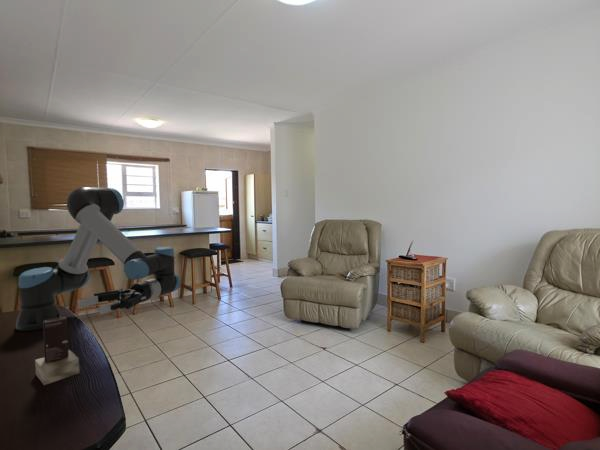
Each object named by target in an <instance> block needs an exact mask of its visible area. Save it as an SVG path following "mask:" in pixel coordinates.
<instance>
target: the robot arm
mask: <svg viewBox="0 0 600 450" xmlns="http://www.w3.org/2000/svg"><path fill="white" fill-rule="evenodd" d="M124 203H125V202H124V199H123V196H122V194H121V192H119V191H118V190H117V189H115V188H113V187H107V186H104V187H93V186H92V187H91V186H90V187H89V186H84V187H83V186H82V187H77V188H76V189H73V190H72V191H71V192H70V194H68V197H67V199H66V208H67V211H68V213H69V214H70V216H71V218H73V219H74V220H75V222H77V223H78V224H79V226H78V228H77V230H76V233H75V236H74V237H73V240H72V241H71V244H70V246H69V248H68V250H67V252H66V254H65V257H64V258H61V259H60V260H59V261H58V263H57V265H56V267H55V268H53V267H51V266H50V267H49V266H43V267H42V266H41V267H38V268H37V267H36V268H31V269H28V270H25V271H23V272H22V273H21V274H20V275H19V276H18V284H17V286H18V287H17V288H18V293H19V294H18V295H19V306H20V310H19V312H18V316H17V319H16V322H15V329H16V330H17V331H20V332H31V331H37V330H38V331H39V330H43V320H49V319H54V318H61V317H62V316H61V313H60V311H59V309H58V307H57V304H56V296H57V295H58V296H59V295H62V294H66V293H69V292H72V291H73V292H74V291H76V290H78V289H80V288H81V289H82V288H83V287H85V286H86V285H87V284H88V282H89V280H90V274H89V273H90V270H89V266H88V265H87V263H88V260H89V258H90V256H91V255H92V252H93V250H94V248H95V246H96V244H97V242H98V240H99V241H100V242H101V243H102V244H103V245H104V246H105V248H107V249H108V250H109V251H110V252H111V253H112V255H114V257H116V258H117V259H118V260H119V261H120V262H121V263H122V264H123V265H124V266H123V272H124V274H125V277H127V278H128V279H129V280H132V281H133V280H134V281H135V280H139V279H140V280H141V279H144V278H146V277H150V276H152V275H154V278H150V279H145V280H143V281H139V282H136V283H134V284H132V285H131V287H130V288H126V289H123V288H118V289H115V290H108V291H103V292H98V293H94V294H93V296H91V297H87V298H83V299H79V300H77V309H78V310H80V309H83V308H84V309H85V308H87V307H90V306H91V307H92V306H93V305H98V304H99V303H103V302H104V303H105V302H109V303H106V304H103V305H99V308H98V309H99V310H98V311H99V315H101V316H102V315H104V314H107V313H111V312H113V311H114V312H115V311H117V310H120V309H122V310H123V309H124V308H125V309H127V310H129V309H130V308H133V307H134V306H136V305H139V304H140V303H144V302H146V301H149V300H154V299H155V298H158V297H161V296H164V295H167V294H172V293H173V292H175V291H177V290H179V289H180V287H181V284H182V283H181V282H182V281H181V279H180V276H179V274H176V273H175V259H176V258H175V250H174V248H173V247H171V246H158V247H156V248H155V249H154V252H153V254H151V255H146V254H145V253H143V252H142V251H141V250H140V249H139V248H138V247H137V246H136V245H135V244H134V243H133V242H132V241H131V240H130V239H129V238H128V237H127V236H126V235H125V234H124V233H123V232H122V231H121V230H120V229H119V228H118V227H117V226H116V225H115V224H114V223H112V218H113V217H114V215H118V214H119V213H121V212H122V211H123V209H124V206H125V205H124ZM110 301H112V302H110Z"/></svg>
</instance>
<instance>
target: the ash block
mask: <svg viewBox="0 0 600 450" xmlns="http://www.w3.org/2000/svg"><path fill="white" fill-rule="evenodd" d="M68 354H69V357H67V358H62V359H58V360H54V361H49V362H46V363H45V357H44V356H43V357H41V358H37V359H34V365H35V375H36V377H37V378H38V380H40V383H42V385H43V386H45V385H49V384H52V383H55V382H58V381H60V380H63V379H66V378H69V377H72V376H75V375H77V374H80V358H79V357H78V356H77V355H76V354H75V353H74V352H73V351H72V350H70V349H68Z"/></svg>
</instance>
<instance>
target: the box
mask: <svg viewBox="0 0 600 450" xmlns="http://www.w3.org/2000/svg"><path fill="white" fill-rule="evenodd" d="M68 324H69V323H68V318H67V316H61V318H54V319H49V320H43V329H42V330H43V334H42V335H43V350H44V351H43V352H44V356H43V357H45V363H46V362H49V361H54V360H58V359H62V358H67V357H69V354H68V350H69V333H68V332H69V330H68V328H69V327H68Z"/></svg>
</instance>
